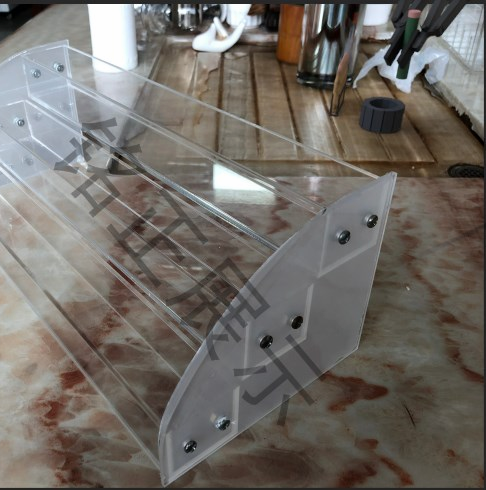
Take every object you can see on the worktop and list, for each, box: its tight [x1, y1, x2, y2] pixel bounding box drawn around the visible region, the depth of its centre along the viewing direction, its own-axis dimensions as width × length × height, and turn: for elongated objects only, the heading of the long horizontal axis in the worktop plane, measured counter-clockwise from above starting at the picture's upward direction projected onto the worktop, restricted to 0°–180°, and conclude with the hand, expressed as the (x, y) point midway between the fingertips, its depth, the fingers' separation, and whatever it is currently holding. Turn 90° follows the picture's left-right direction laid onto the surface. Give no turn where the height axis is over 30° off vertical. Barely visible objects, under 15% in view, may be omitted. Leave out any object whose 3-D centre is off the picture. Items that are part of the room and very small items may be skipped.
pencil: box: [395, 10, 422, 80], centre depth 108 cm, size 2×2×12 cm
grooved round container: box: [358, 96, 406, 134], centre depth 129 cm, size 9×9×5 cm
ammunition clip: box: [328, 50, 349, 117], centre depth 136 cm, size 11×2×12 cm, turn 158°
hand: (393, 63), depth 108 cm, fingers closed on pencil, 2 cm apart
